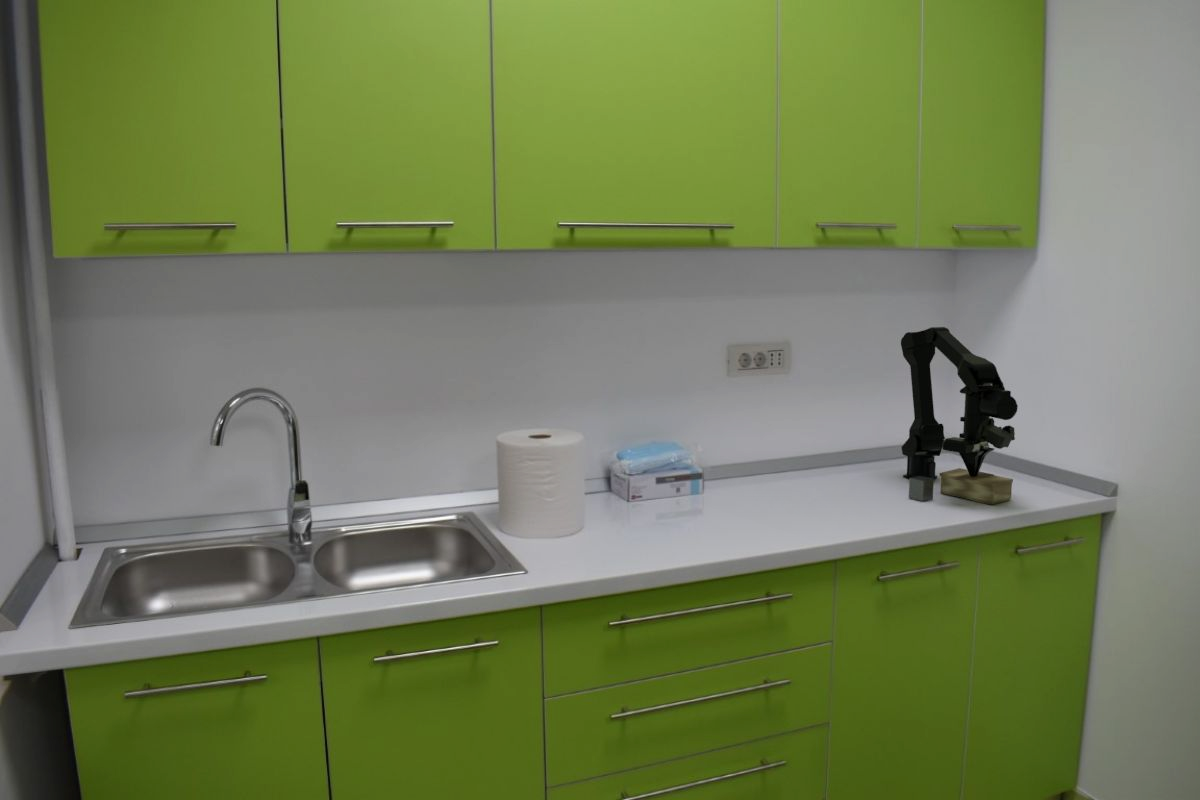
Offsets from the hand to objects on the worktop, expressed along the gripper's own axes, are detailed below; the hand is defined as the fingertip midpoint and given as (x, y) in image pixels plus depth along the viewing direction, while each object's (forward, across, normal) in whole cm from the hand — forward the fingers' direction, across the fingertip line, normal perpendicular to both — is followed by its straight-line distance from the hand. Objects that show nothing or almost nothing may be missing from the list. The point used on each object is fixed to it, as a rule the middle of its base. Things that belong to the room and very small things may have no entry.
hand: (973, 476), depth 214 cm
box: (+5, +1, 0) cm, 5 cm away
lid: (+1, +1, 0) cm, 1 cm away
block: (+5, -11, +7) cm, 14 cm away
